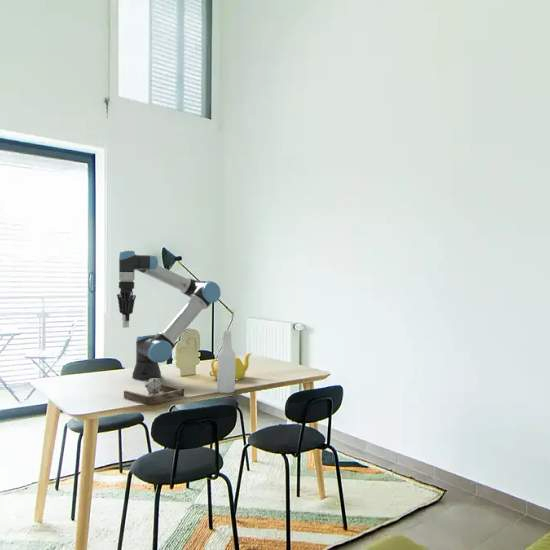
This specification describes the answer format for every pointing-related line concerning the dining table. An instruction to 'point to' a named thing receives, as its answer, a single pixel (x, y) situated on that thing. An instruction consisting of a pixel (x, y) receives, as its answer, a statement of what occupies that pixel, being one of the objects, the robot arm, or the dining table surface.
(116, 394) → the dining table surface
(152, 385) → the game die
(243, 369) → the teapot
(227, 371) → the alcohol
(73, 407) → the dining table surface
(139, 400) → the brown wooden bar
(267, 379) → the dining table surface
